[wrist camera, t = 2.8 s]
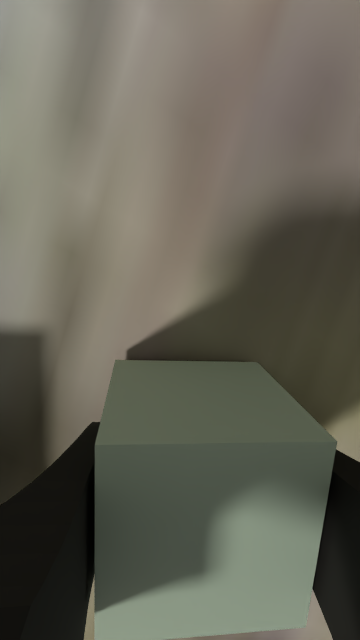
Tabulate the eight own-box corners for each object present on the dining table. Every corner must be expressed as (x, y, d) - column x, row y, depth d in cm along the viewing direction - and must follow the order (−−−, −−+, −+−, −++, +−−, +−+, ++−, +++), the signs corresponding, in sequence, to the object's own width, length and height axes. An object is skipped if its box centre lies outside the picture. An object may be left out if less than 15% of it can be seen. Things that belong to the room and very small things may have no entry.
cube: (244, 484, 13) (305, 627, 8) (113, 487, 12) (94, 645, 7) (257, 362, 12) (336, 441, 7) (115, 359, 11) (94, 445, 6)
